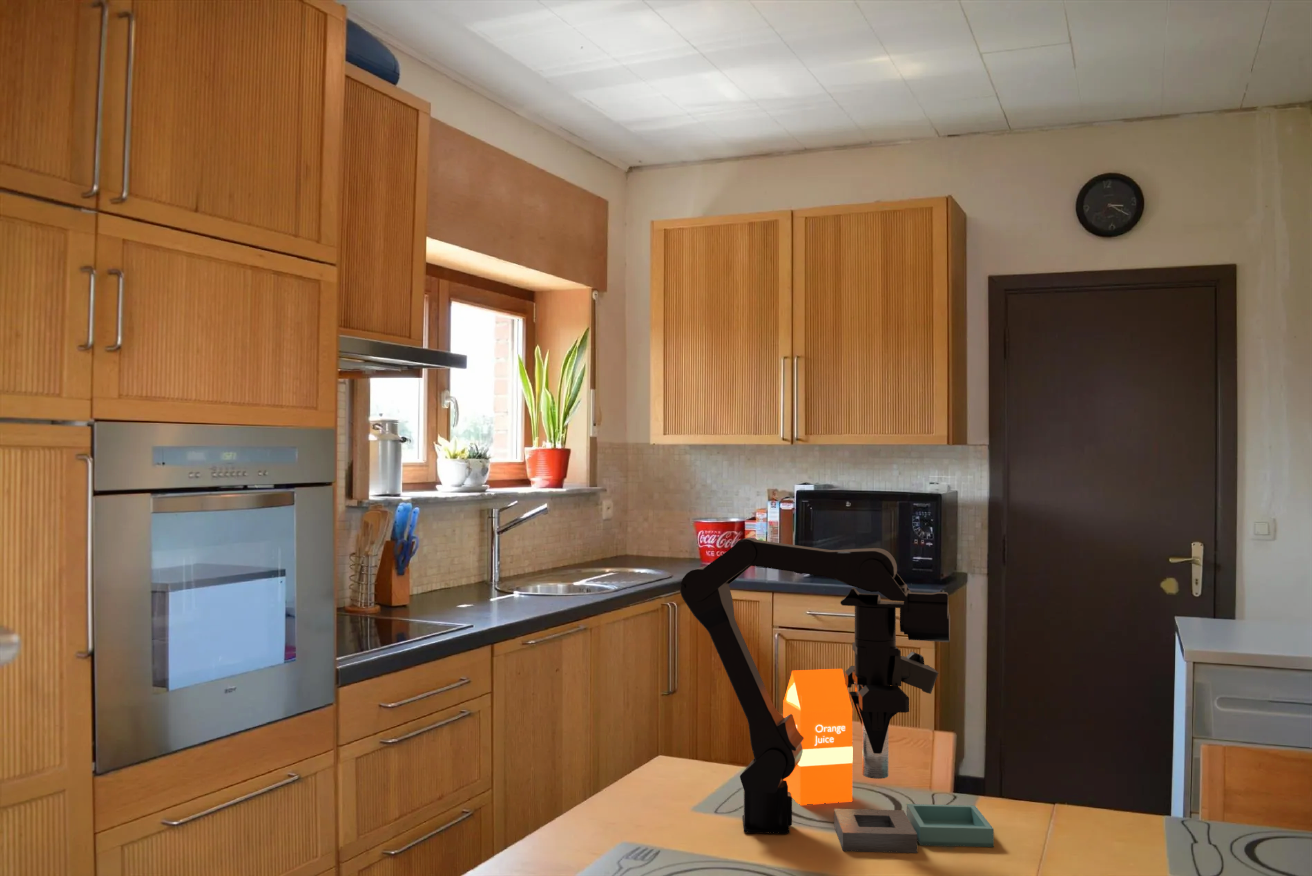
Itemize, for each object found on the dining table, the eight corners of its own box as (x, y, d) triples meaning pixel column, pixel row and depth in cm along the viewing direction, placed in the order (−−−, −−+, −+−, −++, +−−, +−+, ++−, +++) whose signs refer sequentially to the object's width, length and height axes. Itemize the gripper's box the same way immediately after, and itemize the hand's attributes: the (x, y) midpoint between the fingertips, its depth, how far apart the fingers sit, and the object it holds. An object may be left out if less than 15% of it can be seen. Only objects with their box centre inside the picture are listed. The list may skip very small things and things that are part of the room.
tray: (920, 845, 144) (920, 827, 144) (906, 821, 154) (906, 804, 154) (993, 847, 144) (993, 828, 144) (975, 822, 154) (975, 805, 154)
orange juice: (782, 790, 168) (782, 666, 169) (833, 787, 171) (833, 664, 171) (800, 806, 161) (800, 675, 162) (853, 802, 163) (853, 673, 164)
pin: (864, 778, 145) (864, 722, 145) (860, 771, 149) (860, 715, 149) (890, 779, 145) (890, 722, 145) (886, 771, 148) (886, 716, 149)
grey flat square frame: (842, 851, 142) (842, 832, 142) (834, 826, 152) (834, 808, 152) (917, 853, 141) (917, 834, 141) (903, 827, 151) (903, 810, 151)
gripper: (947, 650, 138) (948, 769, 137) (919, 629, 156) (919, 734, 156) (862, 649, 138) (862, 768, 138) (844, 628, 157) (844, 732, 156)
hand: (875, 749), depth 147 cm, fingers closed on pin, 4 cm apart
